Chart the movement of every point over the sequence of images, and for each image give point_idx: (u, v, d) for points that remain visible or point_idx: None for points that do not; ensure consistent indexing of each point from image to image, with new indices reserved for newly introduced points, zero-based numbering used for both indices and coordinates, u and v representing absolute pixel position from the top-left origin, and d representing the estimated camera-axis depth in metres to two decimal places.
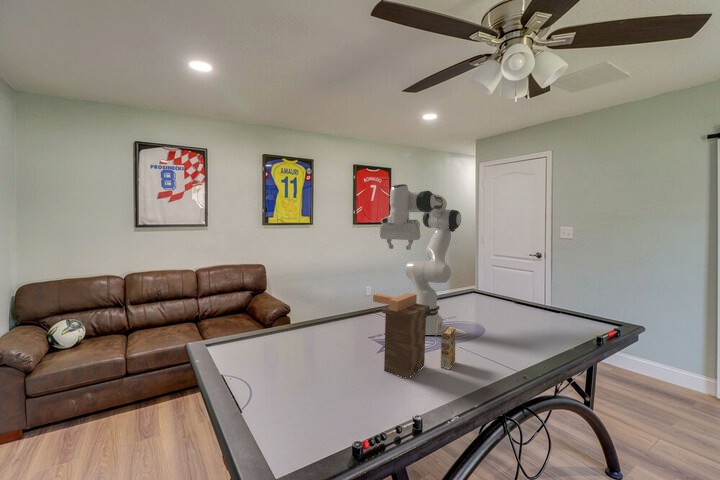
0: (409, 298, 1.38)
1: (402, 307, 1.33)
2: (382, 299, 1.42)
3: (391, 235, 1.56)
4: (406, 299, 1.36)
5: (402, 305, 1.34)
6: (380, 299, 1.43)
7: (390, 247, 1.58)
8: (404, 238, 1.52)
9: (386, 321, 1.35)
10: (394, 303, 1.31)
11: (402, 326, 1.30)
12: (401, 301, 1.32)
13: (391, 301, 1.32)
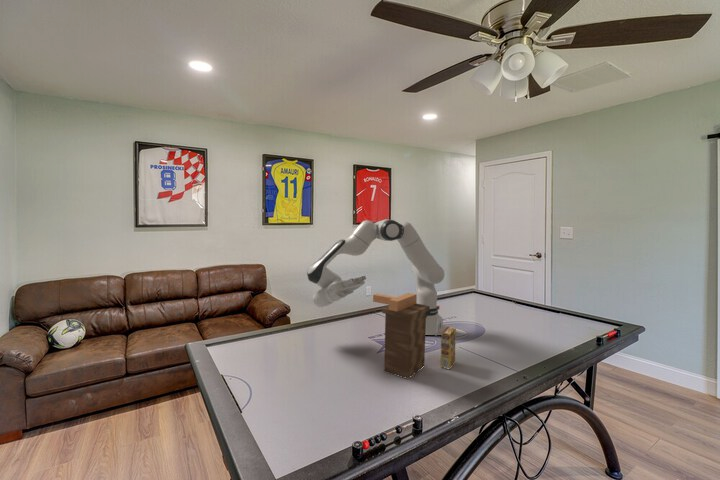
0: (409, 298, 1.38)
1: (402, 307, 1.33)
2: (382, 299, 1.42)
3: (355, 286, 1.57)
4: (406, 299, 1.36)
5: (402, 305, 1.34)
6: (380, 299, 1.43)
7: (364, 279, 1.55)
8: (347, 287, 1.51)
9: (386, 321, 1.35)
10: (394, 303, 1.31)
11: (402, 326, 1.30)
12: (401, 301, 1.32)
13: (391, 301, 1.32)
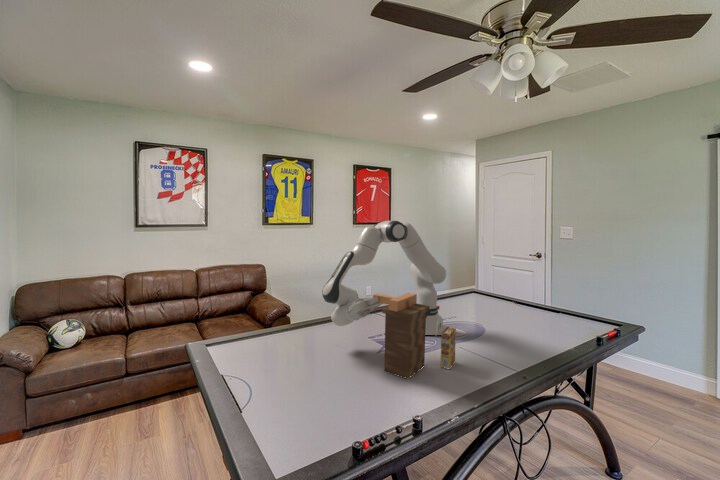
0: (409, 298, 1.38)
1: (402, 307, 1.33)
2: (382, 299, 1.42)
3: None
4: (406, 299, 1.36)
5: (402, 305, 1.34)
6: (380, 299, 1.43)
7: None
8: (369, 307, 1.44)
9: (386, 321, 1.35)
10: (394, 303, 1.31)
11: (402, 326, 1.30)
12: (401, 301, 1.32)
13: (391, 301, 1.32)
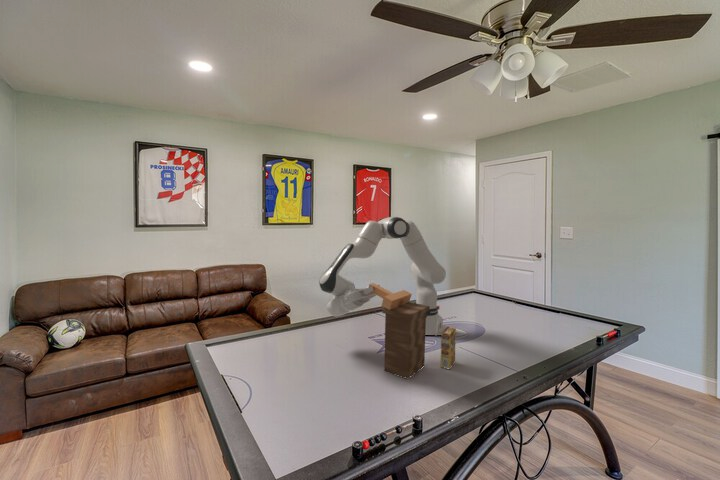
0: (403, 297, 1.39)
1: (395, 306, 1.35)
2: (377, 291, 1.43)
3: (371, 295, 1.51)
4: (400, 298, 1.37)
5: (396, 304, 1.35)
6: (375, 290, 1.44)
7: None
8: (364, 297, 1.45)
9: (386, 321, 1.35)
10: (389, 301, 1.32)
11: (402, 326, 1.30)
12: (395, 300, 1.34)
13: (386, 298, 1.33)
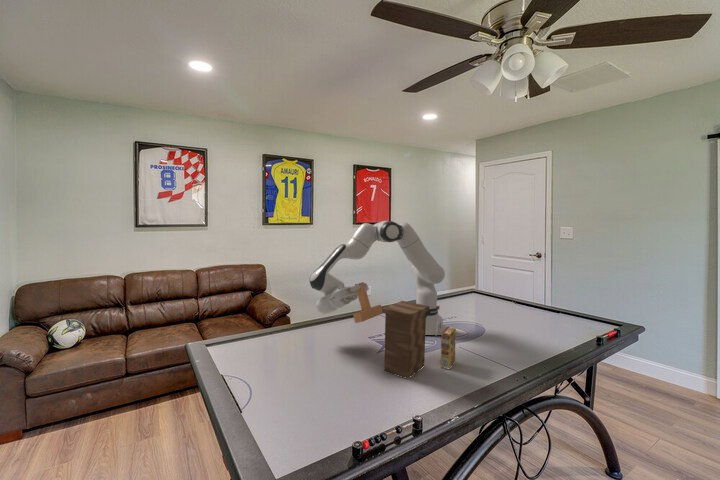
0: (374, 316, 1.49)
1: None
2: (360, 294, 1.49)
3: None
4: (371, 317, 1.47)
5: None
6: (359, 292, 1.49)
7: (365, 287, 1.52)
8: (351, 294, 1.49)
9: (386, 321, 1.35)
10: (360, 319, 1.41)
11: (402, 326, 1.30)
12: None
13: (359, 315, 1.41)
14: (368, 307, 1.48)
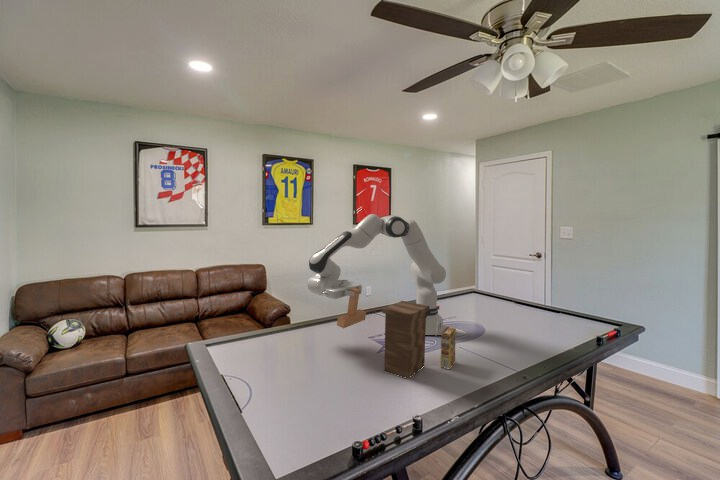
0: None
1: None
2: (352, 300, 1.52)
3: None
4: None
5: None
6: (352, 297, 1.52)
7: (359, 293, 1.54)
8: (343, 296, 1.52)
9: (386, 321, 1.35)
10: (342, 325, 1.48)
11: (402, 326, 1.30)
12: None
13: (343, 322, 1.47)
14: (354, 313, 1.53)
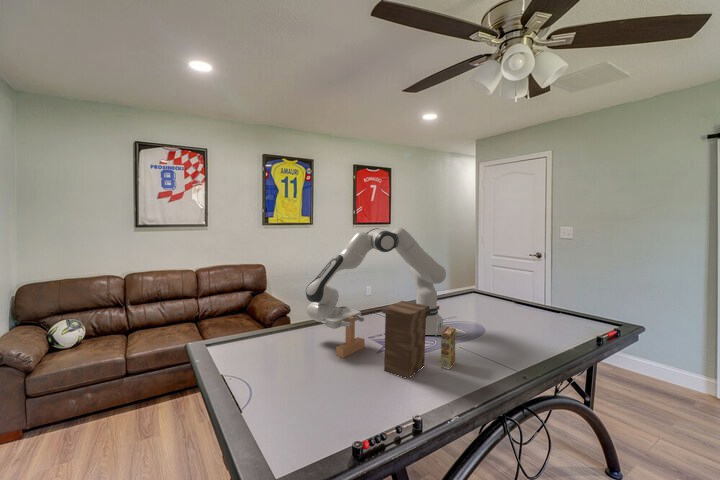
0: None
1: None
2: (348, 328, 1.54)
3: None
4: None
5: None
6: None
7: None
8: None
9: (386, 321, 1.35)
10: (341, 354, 1.49)
11: (402, 326, 1.30)
12: None
13: (342, 351, 1.48)
14: (352, 342, 1.55)
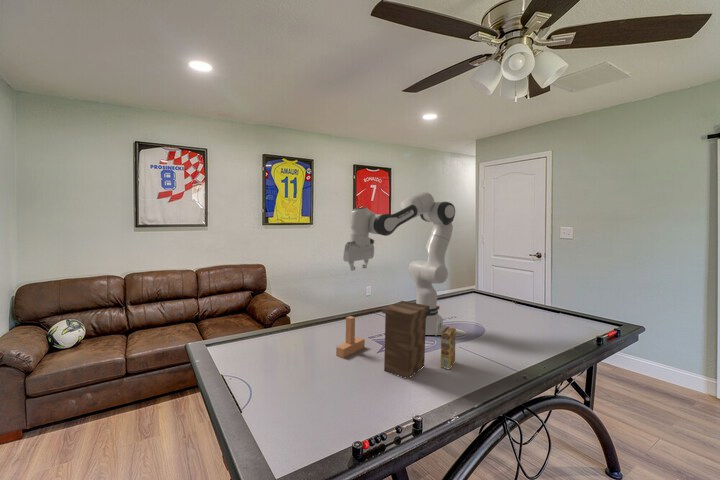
0: None
1: None
2: (349, 328, 1.54)
3: None
4: None
5: None
6: (348, 326, 1.54)
7: None
8: None
9: (386, 321, 1.35)
10: (341, 354, 1.49)
11: (402, 326, 1.30)
12: None
13: (342, 351, 1.48)
14: (352, 342, 1.55)
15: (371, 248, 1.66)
